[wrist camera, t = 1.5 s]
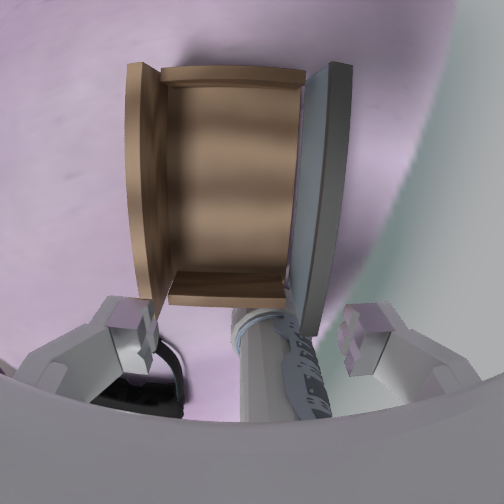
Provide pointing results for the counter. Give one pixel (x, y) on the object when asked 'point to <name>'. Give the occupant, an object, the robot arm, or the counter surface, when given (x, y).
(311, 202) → the panel
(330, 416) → the canister
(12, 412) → the robot arm
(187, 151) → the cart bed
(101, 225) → the counter surface
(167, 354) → the virtual reality headset
